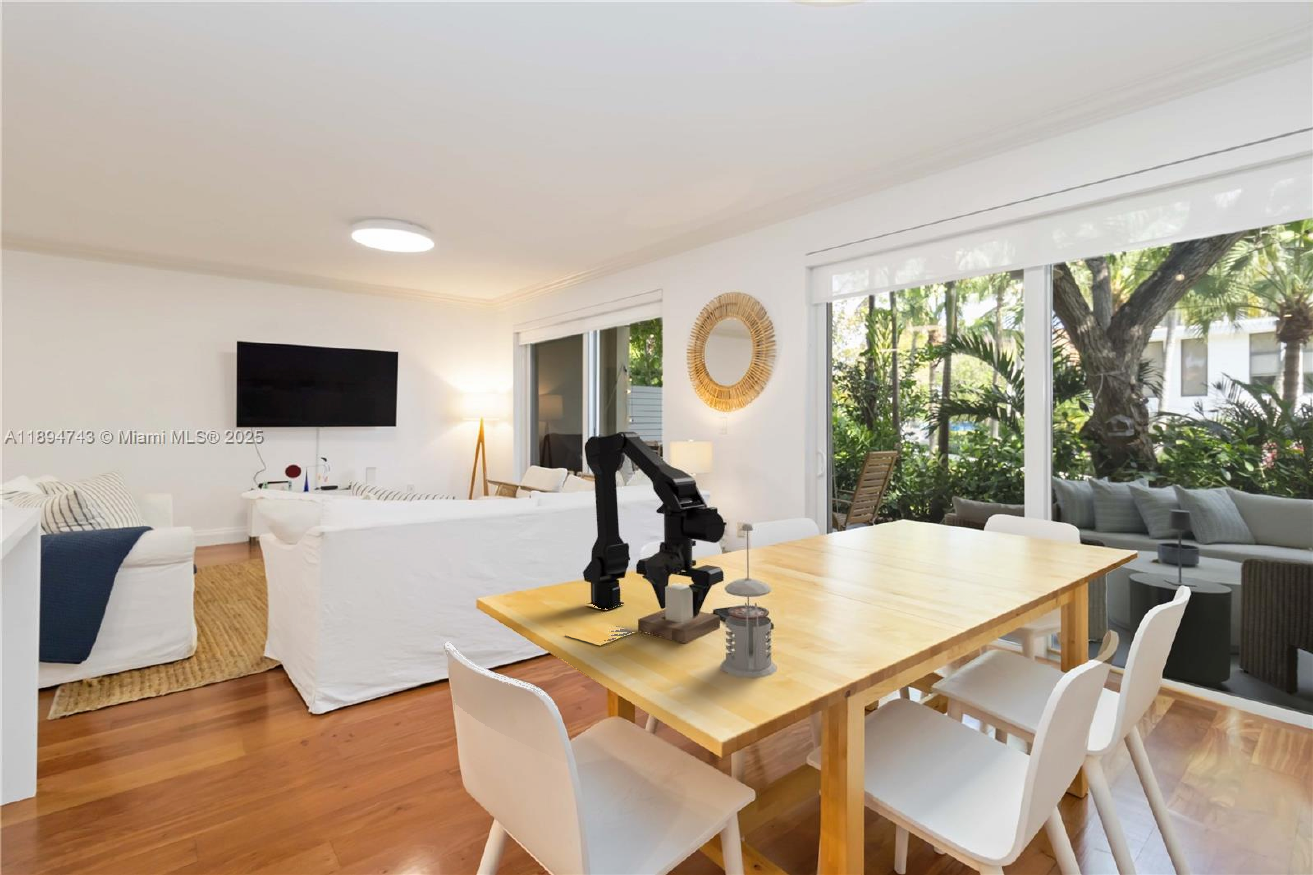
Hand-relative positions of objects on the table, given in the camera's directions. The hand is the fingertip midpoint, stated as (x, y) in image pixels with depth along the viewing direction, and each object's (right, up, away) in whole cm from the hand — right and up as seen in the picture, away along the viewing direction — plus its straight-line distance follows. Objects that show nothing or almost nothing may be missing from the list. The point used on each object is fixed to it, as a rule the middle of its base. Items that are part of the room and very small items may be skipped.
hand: (679, 612), depth 130 cm
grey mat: (-16, -4, -2) cm, 17 cm away
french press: (+11, -4, -21) cm, 24 cm away
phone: (+14, -4, +6) cm, 15 cm away
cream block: (0, -4, 0) cm, 4 cm away
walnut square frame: (0, -4, 0) cm, 4 cm away
